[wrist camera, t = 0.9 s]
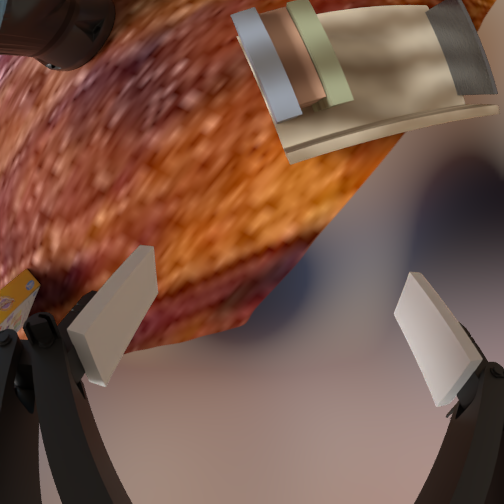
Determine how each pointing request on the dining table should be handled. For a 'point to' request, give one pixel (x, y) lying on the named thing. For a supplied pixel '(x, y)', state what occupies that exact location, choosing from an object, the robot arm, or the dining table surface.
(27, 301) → the game box
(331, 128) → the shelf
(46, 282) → the dining table surface
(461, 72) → the bookend
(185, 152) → the dining table surface
